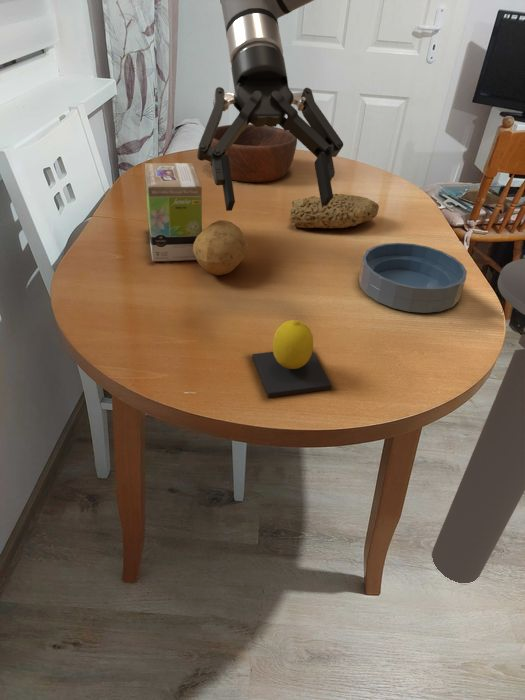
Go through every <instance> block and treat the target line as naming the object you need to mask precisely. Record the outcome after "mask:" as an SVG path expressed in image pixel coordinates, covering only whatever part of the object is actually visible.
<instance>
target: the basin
mask: <svg viewBox="0 0 525 700" xmlns="http://www.w3.org/2000/svg"><path fill="white" fill-rule="evenodd" d="M467 273H468V271H467V269H466V267H465V266H464V263H462V262H461V261H459V260H458V259H457V258H456V257H454V256H452V255H451V254H449V253H446V252H445V251H443V250H441V249H437V248H433V247H430V246H428V245H421V244H416V243H406V242H389V243H381V244H378V245H375V246H372V247H370V248H369V249H367V250H366V251H365V252H364V254H363V256H362V258H361V263H360V270H359V275H358V283H359V287H360V289H361V290H362V291H363V292H364V293H365V295H367V296H368V297H369V298H371V299H372V300H374V301H375V302H377V303H379V304H381V305H384V306H387V307H388V308H392V309H396V310H399V311H400V310H401V311H405V312H410V313H422V314H423V313H424V314H427V313H439V312H443V311H446V310H448V309H451V308H453V307H454V306H455V305H456V304H458V303H459V302H460V298H461V295H462V293H463V289H464V286H465V283H466V279H467Z"/></svg>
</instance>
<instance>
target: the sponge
mask: <svg viewBox="0 0 525 700" xmlns="http://www.w3.org/2000/svg"><path fill="white" fill-rule="evenodd" d="M291 204H292V206H291V207H290V214H289V216H290V222H291V225H292V227H295V228H305V229H316V228H317V229H319V228H320V229H346V228H349V227H350V228H351V227H355V226H357V225H359V224H362V223H366V222H369V221H372V220H374V218H375V217H377V215H378V214H379V208H380V206H379V203H377V202H375V200H372V199H370V198H368V197H365V196H360V195H354V194H346V193H345V194H344V193H333V198H332V199H331V201H330V202H329V203H328V205H327V206H322V205H321V199H320V197H317V196H316V195H315V196H313V195H312V196H308V197H306V198H299V199H294V200H292V202H291Z"/></svg>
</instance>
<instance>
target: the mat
mask: <svg viewBox="0 0 525 700" xmlns="http://www.w3.org/2000/svg"><path fill="white" fill-rule="evenodd" d="M251 358H252V360H253V363H254V365H255V368H256V370H257V374H258V376H259V379H260V381H261V383H262V386H263V388H264V390H265V393H266V396H267V398H269V399H270V398H276V397H283V396H290V395H297V394H306V393H312V392H320V391H327V390H331V389H332V387H333V386H332V383H331V381H330V379H329V377H328V375H327V374H326V372H325V370H324V368H323V367H322V364H321V363H320V361H319V360H318V358H317V356H316V354H315V353H314V351H313V352H312V355H311V357H310V359H309V361H308V362H307V363H306V364H305V365H304V366H302V367H300V368H297V369H288V368H285V367H283V366H282V365H280V364H279V363H278V362H277V360H276V358H275V356H274V353H273V351H269V352H268V351H267V352H260V353H259V352H257V353H253V354H252V357H251Z"/></svg>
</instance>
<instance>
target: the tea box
mask: <svg viewBox="0 0 525 700" xmlns="http://www.w3.org/2000/svg"><path fill="white" fill-rule="evenodd" d="M144 182H145V183H144V184H145V201H146V213H147V226H148V236H149V243H150V245H149V246H150V253H151V261H152V262H179V261H180V262H181V261H197V259H196V257H195V255H194V253H193V244H194V242H195V240H196V238H197V236H198V235H199V234H200V233H201V232H202V231H203V190H202V189H203V187H202V184H201V181H200V178H199V176H198V173H197V171H196V168H195V165H194V163H193V162H163V163H162V162H152V163H151V162H150V163H149V162H147V163H144Z"/></svg>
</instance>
